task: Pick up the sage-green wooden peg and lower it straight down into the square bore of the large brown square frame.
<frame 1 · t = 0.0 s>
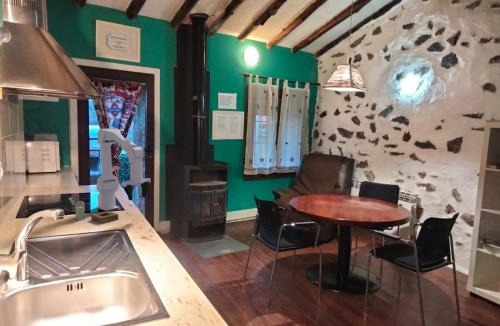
hand: (137, 198, 165), 10 cm above the countertop, tool pointing down, fingers open, 7 cm apart
brown square frame: (104, 219, 164), on the countertop
sage peg: (80, 219, 164), on the countertop
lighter: (77, 211, 176), on the countertop
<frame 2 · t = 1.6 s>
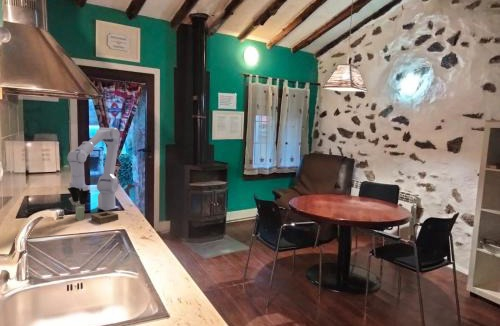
hand: (79, 202, 162), 8 cm above the countertop, tool pointing down, fingers open, 7 cm apart
nothing on the countertop moved.
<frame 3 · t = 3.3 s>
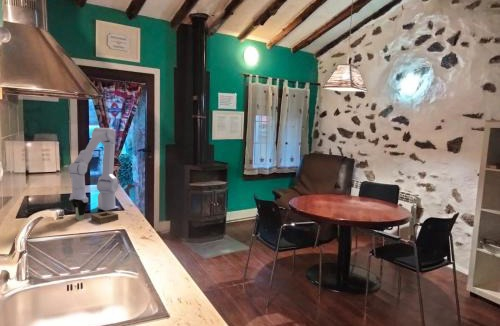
hand: (80, 214, 163), 2 cm above the countertop, tool pointing down, fingers closed on sage peg, 3 cm apart
sage peg: (80, 219, 164), on the countertop, touching gripper
everything else where it was.
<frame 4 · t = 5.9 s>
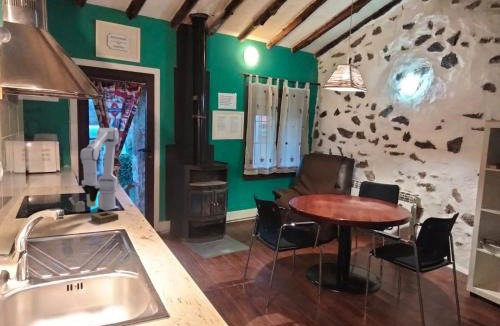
hand: (91, 200, 162), 9 cm above the countertop, tool pointing down, fingers closed on sage peg, 3 cm apart
sage peg: (91, 206, 162), point 7 cm above the countertop, touching gripper
everything else where it was.
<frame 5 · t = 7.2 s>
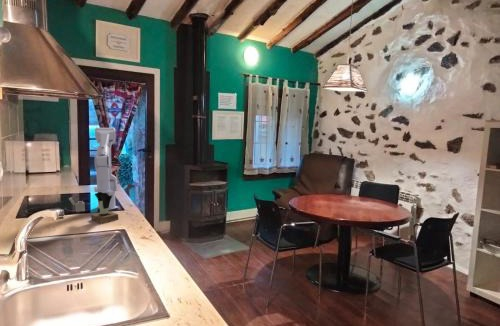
hand: (104, 207, 163), 6 cm above the countertop, tool pointing down, fingers closed on sage peg, 3 cm apart
sage peg: (104, 212, 163), point 3 cm above the countertop, touching gripper
everything else where it was.
when the fingers open (4 cm above the countertop, at t = 8.4 s): sage peg drops 1 cm, resting in brown square frame.
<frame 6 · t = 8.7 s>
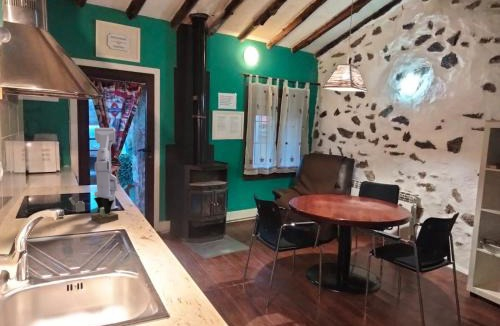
hand: (104, 212, 163), 4 cm above the countertop, tool pointing down, fingers open, 5 cm apart
sage peg: (104, 219, 163), resting in brown square frame
everything else where it was.
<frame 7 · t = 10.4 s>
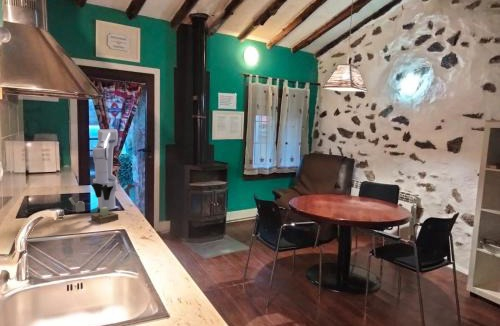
hand: (102, 198, 167), 9 cm above the countertop, tool pointing down, fingers open, 7 cm apart
nothing on the countertop moved.
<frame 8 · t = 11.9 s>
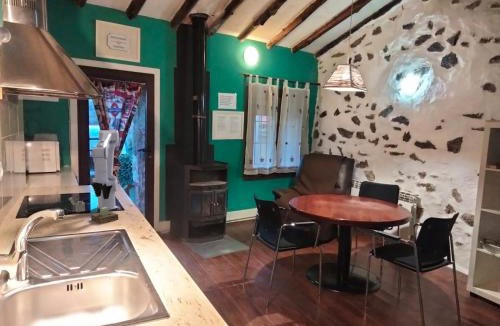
hand: (102, 197, 168), 9 cm above the countertop, tool pointing down, fingers open, 7 cm apart
nothing on the countertop moved.
at the end: sage peg 0.3 cm off-centre on the brown square frame, point 0.0 cm above the brown square frame's base; sage peg tilted 0°; the gripper is holding nothing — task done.
